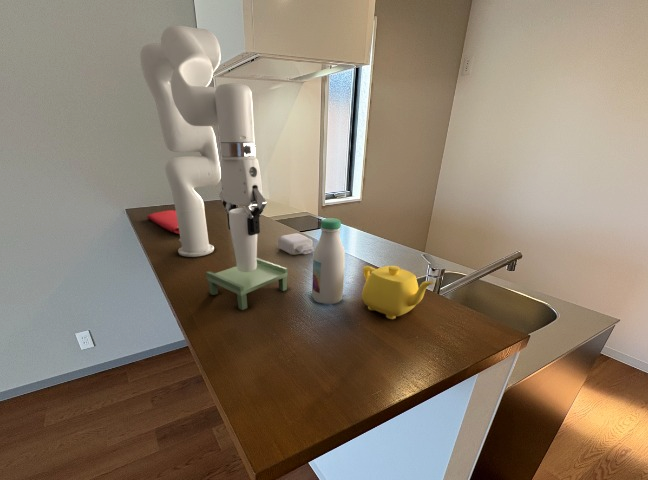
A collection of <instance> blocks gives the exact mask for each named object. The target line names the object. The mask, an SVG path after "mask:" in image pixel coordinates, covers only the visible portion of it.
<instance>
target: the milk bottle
mask: <svg viewBox="0 0 648 480" xmlns="http://www.w3.org/2000/svg"><path fill="white" fill-rule="evenodd" d="M341 228H342V221H341V220H340V219H339V218H333V217H328V218H327V217H326V218H323V219H321V220H320V231H321V232H320V233H321V234H320V236H319V238H318V242H317V243H316V245H315V247H314V252H313V260H312V289H311V291H312V292H311V293H312V294H311V296H312V299H313V300H314V301H315V302H317V303H319V304H323V305H333V304H337V303H340V301H342V299H343V294H344V281H345V266H346V252H345V247H344V244H343V242H342V239H341V236H340V231H341Z"/></svg>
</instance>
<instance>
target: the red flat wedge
mask: <svg viewBox="0 0 648 480" xmlns="http://www.w3.org/2000/svg"><path fill="white" fill-rule="evenodd" d="M146 218H147V219H148V220H150V221H152V222H153V223H155V224H156V225H158V226H160V227H161V228H163V229H165V230H166V231H169V232H171V233H174V234H178V235H180V233H179V227H178V221H177V216H176V210H171V209H170V210H163V211H162V210H161V211H157V212H153V213H150V214H147V216H146Z"/></svg>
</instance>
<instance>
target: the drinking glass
mask: <svg viewBox="0 0 648 480" xmlns="http://www.w3.org/2000/svg"><path fill="white" fill-rule="evenodd" d="M251 209H252V211H253V210H254V208H253V207H251ZM247 218H249V216H248V213H247V210H246V208H245V207H239V208H237V209H232V210H230V211H229V224H230V237H231V242H232V247H233V253H234V259H235V265H236V267H237V270H239V271H241V272H251V271H254V270H255V269H256V268H257V258H258V234H255V235H251V236H250V235H248V224H247Z"/></svg>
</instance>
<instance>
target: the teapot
mask: <svg viewBox="0 0 648 480" xmlns="http://www.w3.org/2000/svg"><path fill="white" fill-rule="evenodd" d="M362 275H363V277H364V280H365V283H364V285H363V287H362V288H363V289H362V292H361V299H362V301H363V303H364V304H365V305H366V306H367V309H368V310H369V311H376V312H378V313H380V314H383V315H385V318H387V319H390V320H394V319H396V317H401V316H403V315H405V314H408V313H409V312H410V311H412V310H413V309H415V307H416V306H417V305H419V304H420V303H421V301H422V300H423V298H424V296H425V293H426V289H428V287H429V286H430V285H433V284H436V281H431V280H426V281H423V282H422V283H420V285H419V283H418V281H417V275H416V274H414V273H413V272H411V271H408V270H406V269H404V268H401V267H399V266H397V265H384V266H381V267H379V268H375V267H373V266H370V265H365V266H363V268H362Z"/></svg>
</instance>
